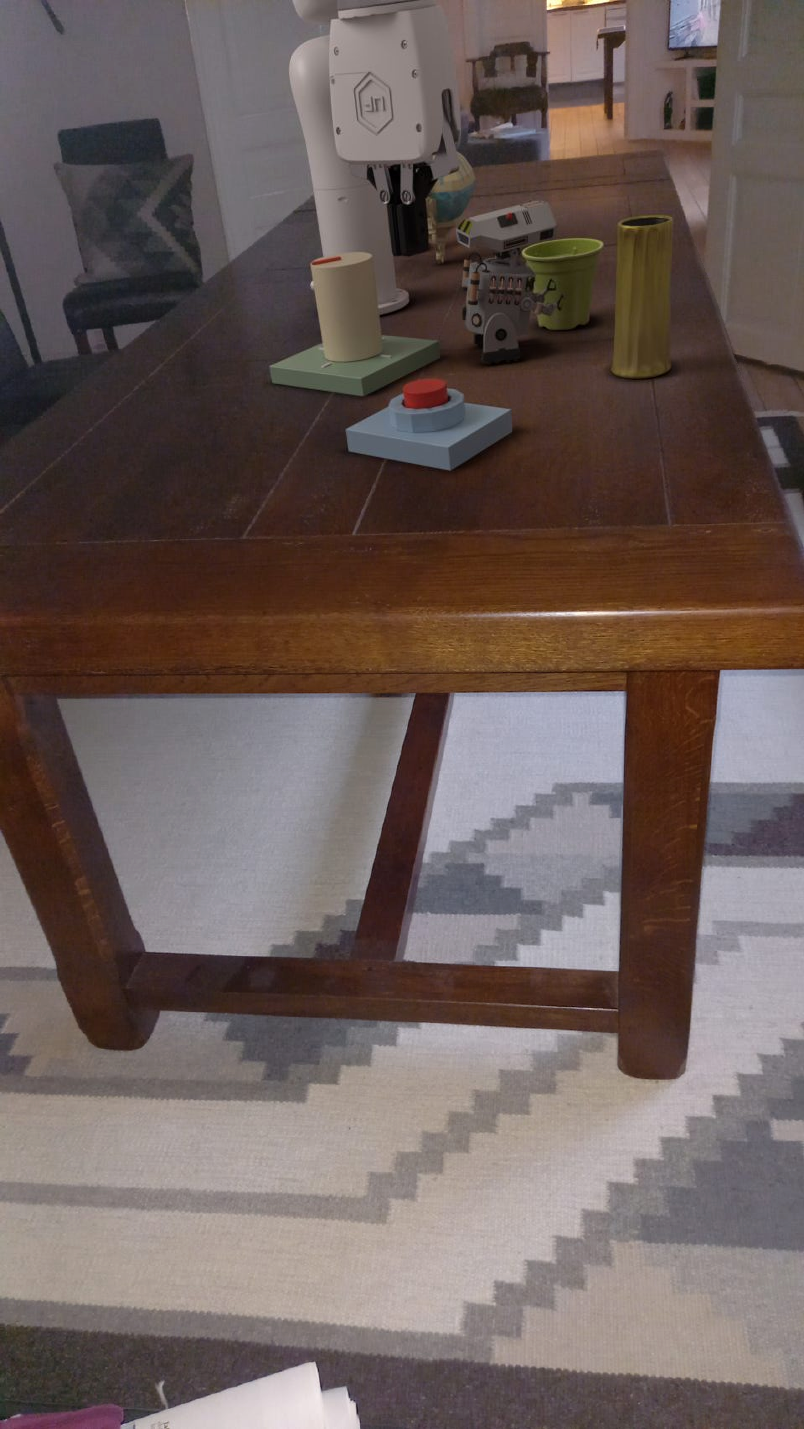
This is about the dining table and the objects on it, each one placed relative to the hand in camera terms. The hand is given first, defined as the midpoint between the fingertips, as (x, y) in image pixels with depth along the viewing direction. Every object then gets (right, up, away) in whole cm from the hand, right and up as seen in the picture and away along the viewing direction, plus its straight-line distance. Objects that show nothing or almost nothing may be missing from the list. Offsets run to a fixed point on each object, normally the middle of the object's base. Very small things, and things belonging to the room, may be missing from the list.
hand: (410, 252), depth 84 cm
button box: (+2, -14, +8) cm, 16 cm away
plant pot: (+19, +8, +36) cm, 41 cm away
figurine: (+12, +2, +29) cm, 32 cm away
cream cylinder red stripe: (-6, +2, +28) cm, 29 cm away
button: (+1, -11, +6) cm, 13 cm away
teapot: (+5, +31, +71) cm, 78 cm away
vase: (+24, -4, +18) cm, 31 cm away
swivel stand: (-6, 0, +29) cm, 30 cm away
